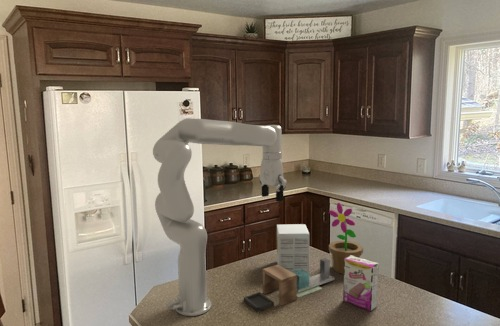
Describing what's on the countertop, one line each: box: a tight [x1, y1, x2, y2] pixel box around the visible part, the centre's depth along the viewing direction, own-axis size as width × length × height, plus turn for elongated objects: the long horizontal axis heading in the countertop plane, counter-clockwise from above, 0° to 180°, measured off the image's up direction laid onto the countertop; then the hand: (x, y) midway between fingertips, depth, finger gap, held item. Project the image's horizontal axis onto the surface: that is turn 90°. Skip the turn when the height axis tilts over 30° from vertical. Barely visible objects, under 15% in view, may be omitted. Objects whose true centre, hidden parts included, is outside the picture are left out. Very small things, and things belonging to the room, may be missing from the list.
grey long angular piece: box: [292, 257, 335, 292], centre depth 157 cm, size 19×6×8 cm, turn 123°
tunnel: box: [262, 264, 298, 306], centre depth 149 cm, size 7×11×10 cm, turn 33°
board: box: [297, 285, 323, 299], centre depth 155 cm, size 12×10×1 cm
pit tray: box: [243, 291, 275, 312], centre depth 144 cm, size 7×9×2 cm
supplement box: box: [276, 223, 310, 274], centre depth 174 cm, size 13×13×18 cm
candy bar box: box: [342, 255, 380, 312], centre depth 142 cm, size 11×5×16 cm, turn 47°
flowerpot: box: [328, 202, 364, 275], centre depth 170 cm, size 14×14×30 cm
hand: (272, 198), depth 161 cm, fingers open, 9 cm apart
